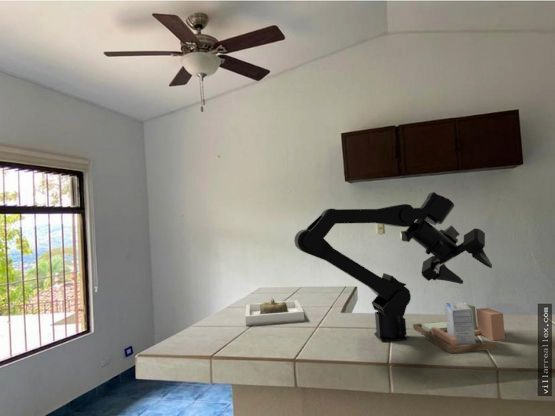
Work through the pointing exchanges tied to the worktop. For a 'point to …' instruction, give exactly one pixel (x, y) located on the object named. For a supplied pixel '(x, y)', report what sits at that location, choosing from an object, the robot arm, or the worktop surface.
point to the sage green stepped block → (444, 324)
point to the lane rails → (453, 348)
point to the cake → (273, 307)
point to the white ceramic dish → (274, 314)
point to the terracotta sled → (479, 327)
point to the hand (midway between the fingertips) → (476, 274)
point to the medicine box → (460, 323)
